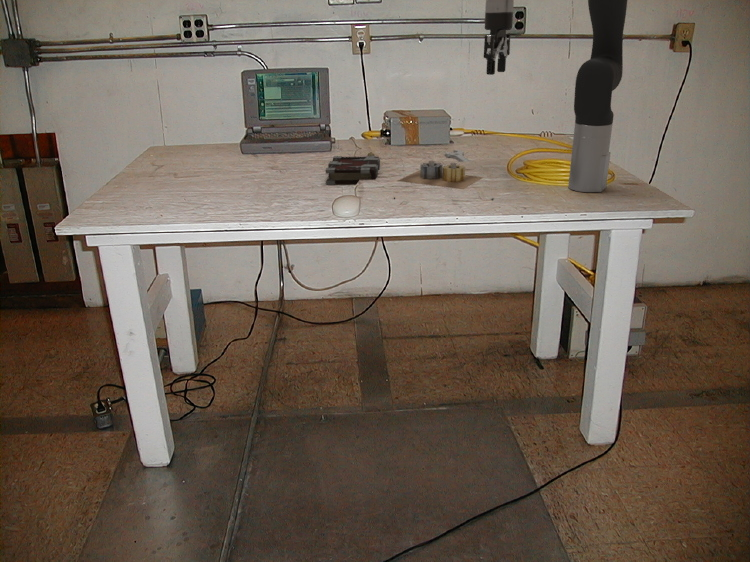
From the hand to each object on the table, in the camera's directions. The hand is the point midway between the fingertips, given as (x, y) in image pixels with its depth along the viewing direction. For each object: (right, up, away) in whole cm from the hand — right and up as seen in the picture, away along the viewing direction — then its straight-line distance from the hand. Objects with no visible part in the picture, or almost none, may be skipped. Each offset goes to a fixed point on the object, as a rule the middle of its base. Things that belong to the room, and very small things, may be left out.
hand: (496, 73), depth 176 cm
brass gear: (-12, -31, -3) cm, 33 cm away
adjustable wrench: (-7, -21, +24) cm, 32 cm away
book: (-40, -27, +12) cm, 50 cm away
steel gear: (-18, -29, 0) cm, 35 cm away
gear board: (-16, -32, -2) cm, 36 cm away
